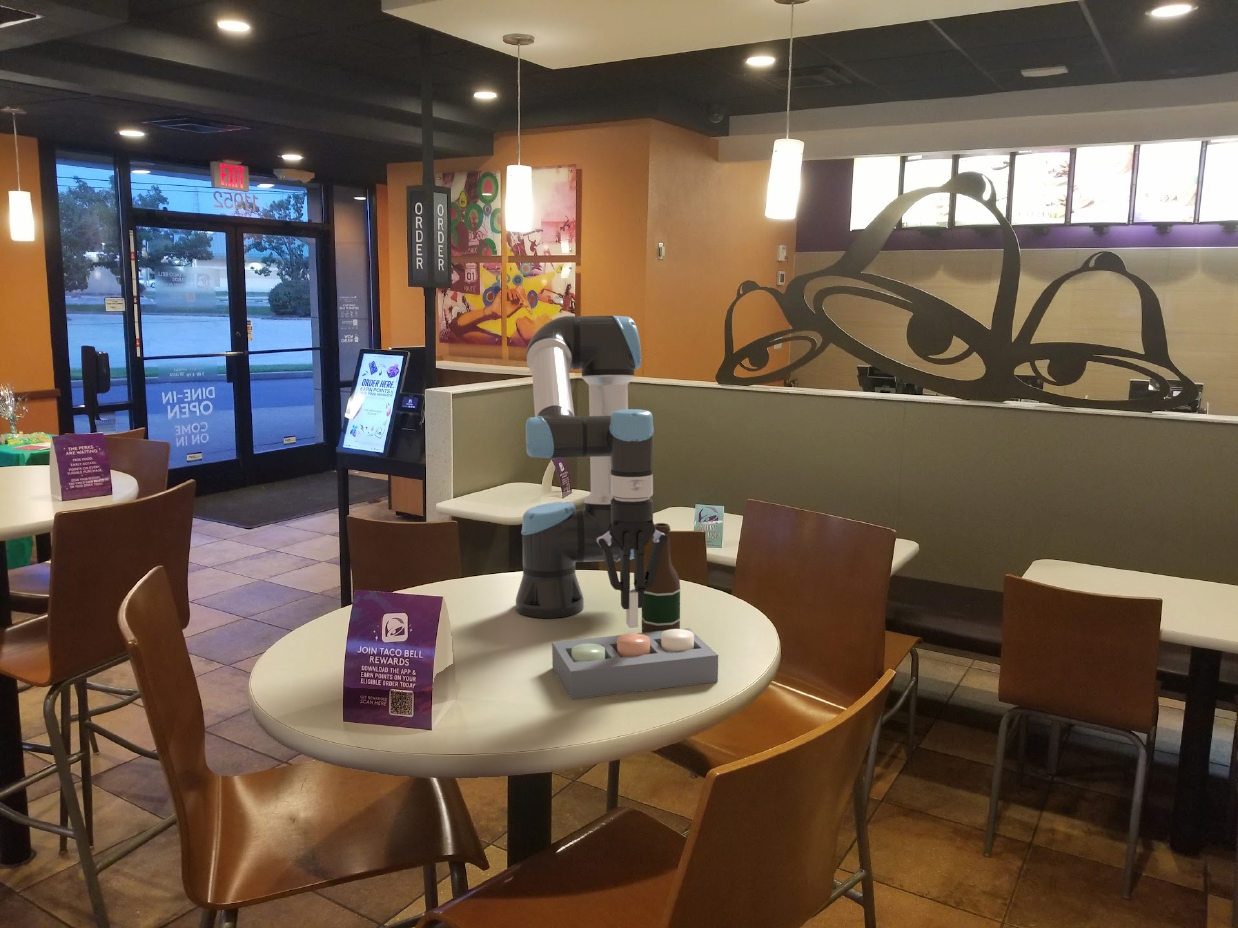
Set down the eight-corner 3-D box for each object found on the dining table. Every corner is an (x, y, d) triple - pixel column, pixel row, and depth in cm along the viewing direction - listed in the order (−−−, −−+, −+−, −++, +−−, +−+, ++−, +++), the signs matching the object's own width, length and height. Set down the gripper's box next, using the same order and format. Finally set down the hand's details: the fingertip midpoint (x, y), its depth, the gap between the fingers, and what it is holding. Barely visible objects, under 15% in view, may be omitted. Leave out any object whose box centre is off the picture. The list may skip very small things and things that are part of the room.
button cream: (656, 653, 176) (656, 630, 176) (687, 649, 178) (687, 627, 177) (667, 664, 171) (667, 641, 170) (698, 661, 172) (698, 638, 172)
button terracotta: (613, 657, 174) (613, 635, 173) (644, 654, 176) (644, 631, 175) (622, 669, 168) (622, 646, 168) (654, 666, 170) (654, 642, 169)
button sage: (568, 668, 172) (568, 645, 171) (600, 664, 173) (600, 641, 173) (576, 680, 166) (576, 656, 165) (609, 676, 168) (608, 653, 167)
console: (552, 667, 176) (552, 642, 175) (688, 652, 183) (688, 627, 182) (571, 699, 162) (570, 671, 161) (717, 681, 169) (718, 654, 168)
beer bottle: (677, 648, 185) (677, 529, 181) (638, 645, 187) (638, 528, 183) (682, 635, 193) (683, 520, 189) (645, 632, 194) (645, 519, 191)
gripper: (600, 503, 162) (601, 635, 165) (673, 499, 165) (672, 628, 168) (591, 495, 169) (592, 621, 173) (661, 491, 172) (660, 615, 176)
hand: (632, 625), depth 171 cm, fingers closed
